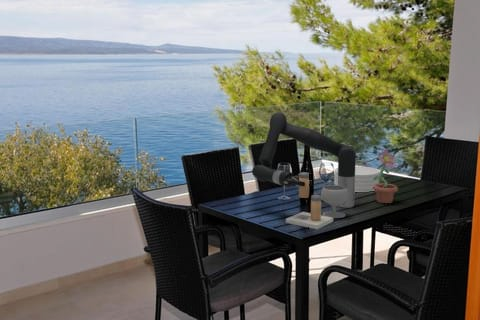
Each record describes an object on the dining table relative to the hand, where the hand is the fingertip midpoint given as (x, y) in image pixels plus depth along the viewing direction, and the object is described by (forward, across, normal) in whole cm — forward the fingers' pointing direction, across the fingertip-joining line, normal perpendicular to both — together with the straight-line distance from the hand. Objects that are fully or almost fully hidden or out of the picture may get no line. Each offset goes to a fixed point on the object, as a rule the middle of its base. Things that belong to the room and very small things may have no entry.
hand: (308, 183), depth 264 cm
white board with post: (+1, +1, +20) cm, 20 cm away
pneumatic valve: (-43, +48, +20) cm, 67 cm away
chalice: (+2, +19, +20) cm, 28 cm away
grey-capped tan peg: (-3, 0, +7) cm, 8 cm away
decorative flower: (+4, +61, +20) cm, 64 cm away
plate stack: (-28, +80, +20) cm, 87 cm away
